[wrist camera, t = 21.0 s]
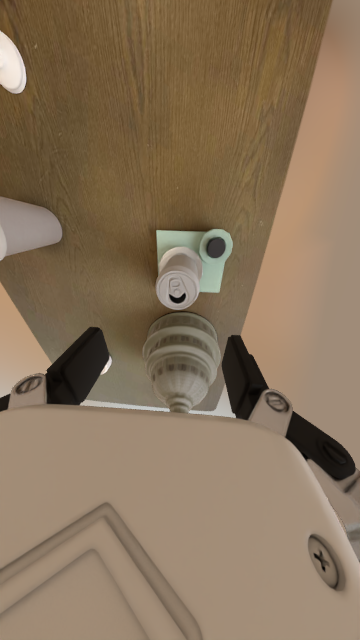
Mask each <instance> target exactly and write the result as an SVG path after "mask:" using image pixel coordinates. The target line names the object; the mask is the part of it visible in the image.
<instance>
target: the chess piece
mask: <svg viewBox="0 0 360 640" xmlns="http://www.w3.org/2000/svg"><path fill="white" fill-rule="evenodd" d="M0 84H1V85H2V86H3V87H4V88H5V89H6V90H8V91H10V92H12V93H15V94H17V93H20V92H22V91H23V90H24V88H25V85H26V71H25V66H24V63H23V60H22V57H21V55H20V53H19V51H18V49H17V48H16V46H15V45H14V43H13V42H12V41H11V40H10V39H9V38H8V37H7V36H6V35H5V34H4V33H2V32H1V31H0Z"/></svg>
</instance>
